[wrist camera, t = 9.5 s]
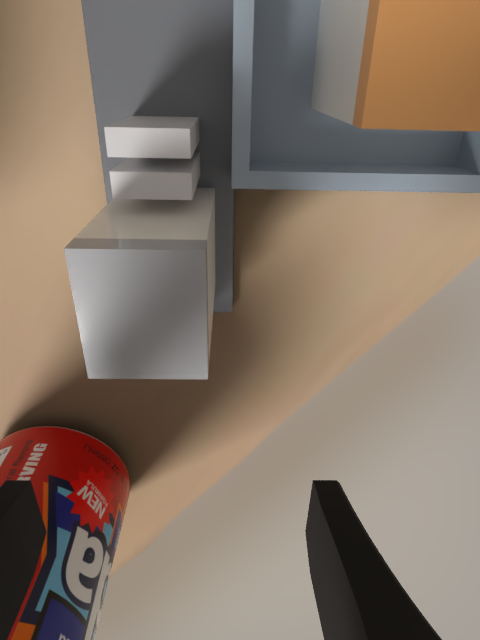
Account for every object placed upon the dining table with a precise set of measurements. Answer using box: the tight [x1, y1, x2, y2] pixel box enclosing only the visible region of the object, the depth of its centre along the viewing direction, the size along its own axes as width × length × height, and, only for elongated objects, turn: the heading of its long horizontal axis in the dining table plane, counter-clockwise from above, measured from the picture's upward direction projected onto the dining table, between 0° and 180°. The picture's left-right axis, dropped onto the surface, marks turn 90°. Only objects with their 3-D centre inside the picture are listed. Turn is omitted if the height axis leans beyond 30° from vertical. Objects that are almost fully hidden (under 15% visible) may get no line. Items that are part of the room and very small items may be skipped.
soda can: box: [0, 426, 130, 640], centre depth 19 cm, size 8×8×15 cm
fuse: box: [64, 188, 215, 379], centre depth 15 cm, size 4×4×7 cm
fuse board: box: [81, 0, 234, 312], centre depth 13 cm, size 5×21×5 cm, turn 179°
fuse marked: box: [311, 0, 480, 131], centre depth 12 cm, size 4×4×7 cm
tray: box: [232, 0, 480, 193], centre depth 14 cm, size 9×9×2 cm
